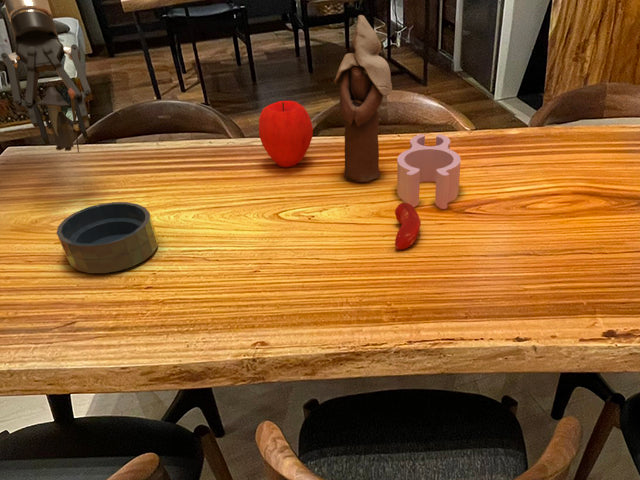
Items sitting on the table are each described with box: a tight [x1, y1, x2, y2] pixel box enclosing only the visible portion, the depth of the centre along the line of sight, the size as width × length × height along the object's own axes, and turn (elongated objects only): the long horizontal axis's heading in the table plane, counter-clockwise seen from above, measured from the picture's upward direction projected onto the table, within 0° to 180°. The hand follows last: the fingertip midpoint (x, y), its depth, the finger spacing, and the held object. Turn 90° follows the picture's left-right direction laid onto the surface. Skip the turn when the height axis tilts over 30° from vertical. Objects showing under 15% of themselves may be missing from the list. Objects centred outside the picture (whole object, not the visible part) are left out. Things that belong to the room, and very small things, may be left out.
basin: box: [56, 201, 159, 274], centre depth 111 cm, size 16×16×6 cm
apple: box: [258, 100, 314, 168], centre depth 135 cm, size 12×12×13 cm
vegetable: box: [394, 202, 422, 250], centre depth 113 cm, size 4×5×12 cm
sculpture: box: [333, 14, 393, 183], centre depth 124 cm, size 12×13×30 cm
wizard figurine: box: [36, 86, 81, 153], centre depth 118 cm, size 8×6×12 cm
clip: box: [396, 133, 462, 210], centre depth 127 cm, size 20×12×7 cm, turn 175°
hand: (65, 138), depth 117 cm, fingers closed on wizard figurine, 6 cm apart
